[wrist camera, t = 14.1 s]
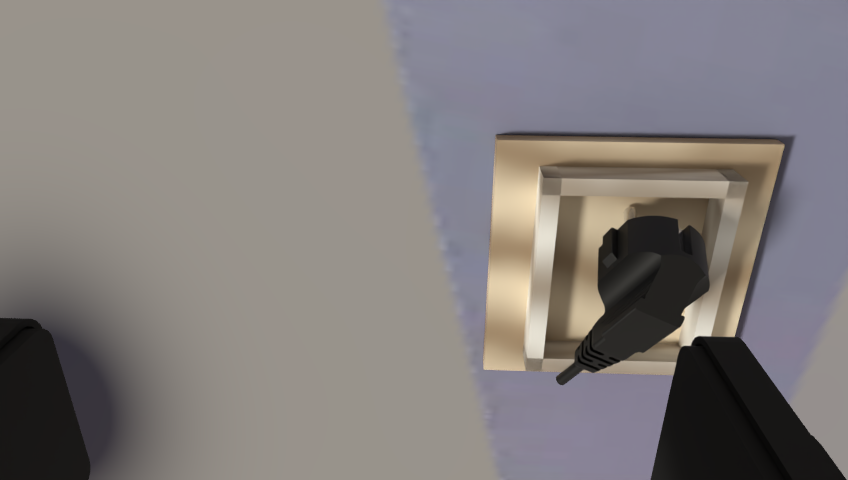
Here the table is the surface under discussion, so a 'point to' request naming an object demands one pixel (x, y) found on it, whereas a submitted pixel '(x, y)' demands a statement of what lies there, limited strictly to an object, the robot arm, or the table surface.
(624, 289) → the power plug
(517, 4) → the table surface
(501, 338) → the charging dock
